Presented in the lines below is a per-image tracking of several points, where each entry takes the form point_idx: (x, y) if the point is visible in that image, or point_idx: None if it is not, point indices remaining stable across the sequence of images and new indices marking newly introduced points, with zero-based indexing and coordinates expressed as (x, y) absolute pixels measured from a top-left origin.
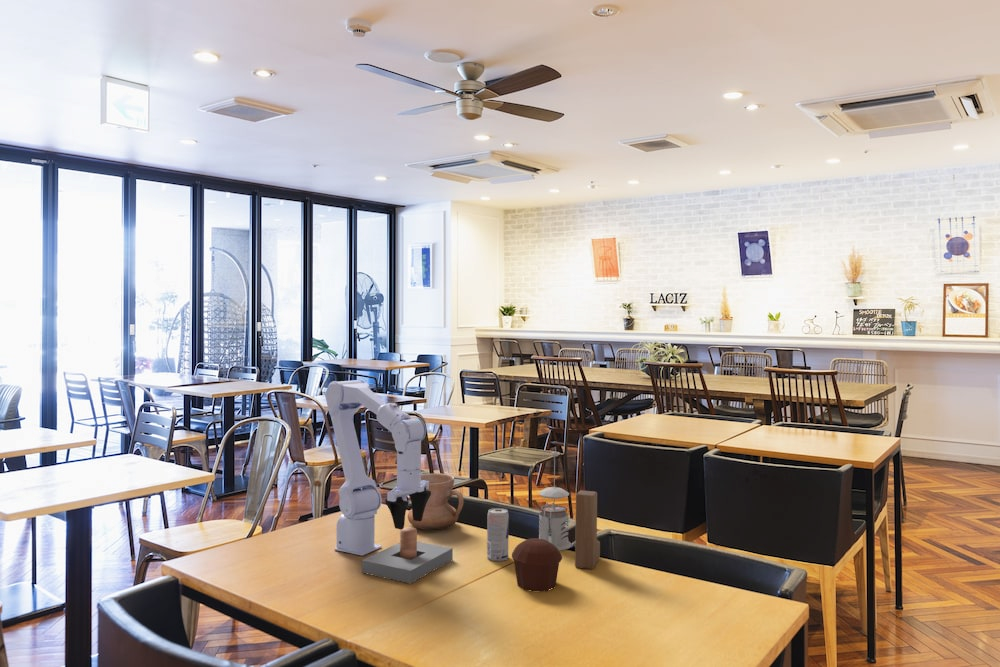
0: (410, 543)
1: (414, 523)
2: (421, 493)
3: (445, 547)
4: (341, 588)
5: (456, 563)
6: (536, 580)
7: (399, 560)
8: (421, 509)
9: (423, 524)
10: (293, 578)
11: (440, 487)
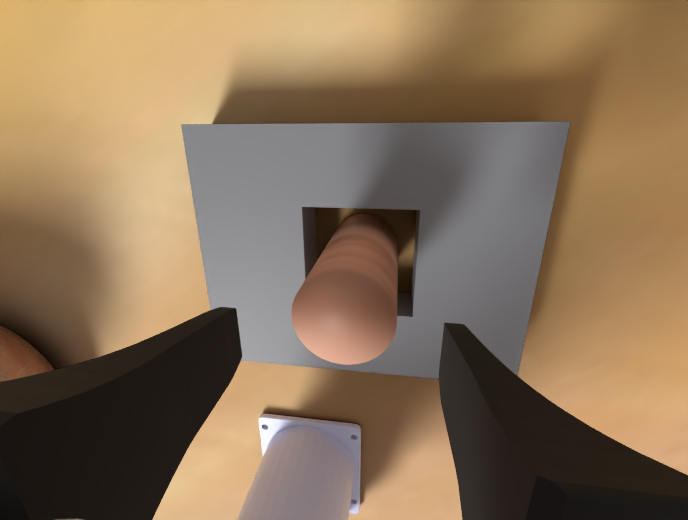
0: (382, 258)
1: None
2: (41, 498)
3: (194, 162)
4: (679, 336)
5: (230, 85)
6: None
7: (452, 253)
8: (181, 352)
9: None
10: None
11: None
